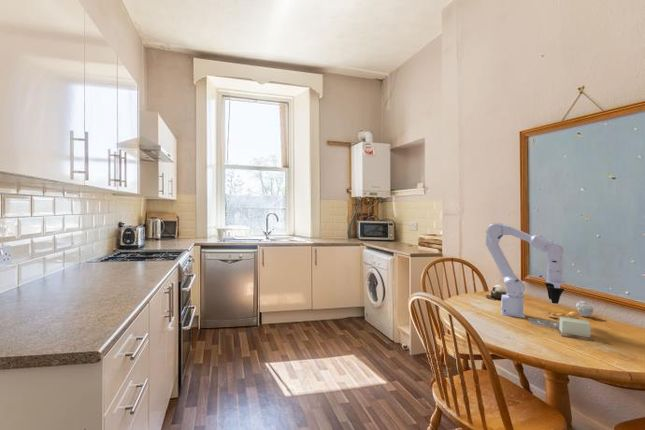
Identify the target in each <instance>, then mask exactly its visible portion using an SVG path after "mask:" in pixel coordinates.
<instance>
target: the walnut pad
mask: <svg viewBox="0 0 645 430" xmlns="http://www.w3.org/2000/svg"><path fill="white" fill-rule="evenodd" d="M555 329H556V331H557V332H558V333H559V335H560V336H561V337H565V338H570V339H577V340H582V341H583V340H584V341H591V342H594V338H593V337H592V336H591V335H590V337H585V336H578V335H571V334H564V333H562V332H561V331H560V330H559V327H556V328H555Z"/></svg>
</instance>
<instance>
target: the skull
mask: <svg viewBox="0 0 645 430" xmlns="http://www.w3.org/2000/svg"><path fill="white" fill-rule="evenodd" d="M502 295H507V291H506V288H505V287H503V286H502V285H500V284H496V285H494V286H492V288H491V290H490V293H488V294H486V295H485V297H486V298H488V299H489V300H493V301H501V298H502Z"/></svg>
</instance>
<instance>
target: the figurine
mask: <svg viewBox="0 0 645 430" xmlns="http://www.w3.org/2000/svg"><path fill="white" fill-rule="evenodd" d="M547 314H548V315H547V317H548V318H550V319H554V318H560V317H565V318H573V319H579V318H580V314H579V312H577V311H569V312H568V313H567V314H564V313H563V312H559V313H558V311H557V312H551V311H547Z"/></svg>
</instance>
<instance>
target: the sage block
mask: <svg viewBox="0 0 645 430" xmlns="http://www.w3.org/2000/svg"><path fill="white" fill-rule="evenodd" d="M558 318H559V321H558V322H559V330H560V331H561V332H562V333H564V334H571V335H578V336H585V337H590V336H591V330H592V327H591V326H592V324H591V323H590V322H589V321H588V320H586V319H573V318H569V317H564V316H563V317H558Z"/></svg>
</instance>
